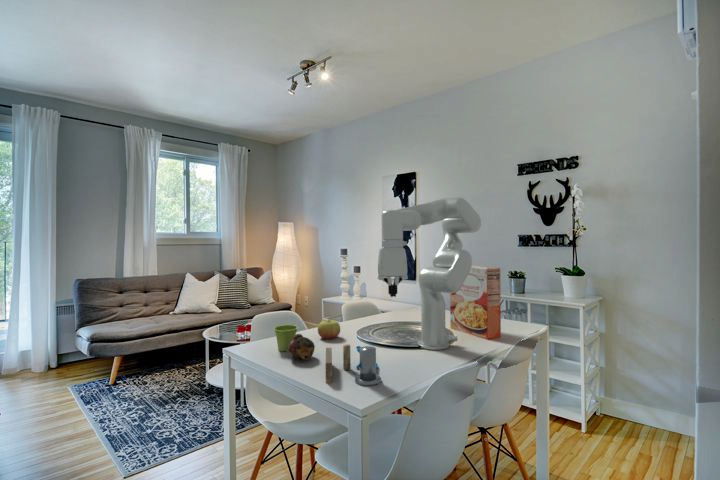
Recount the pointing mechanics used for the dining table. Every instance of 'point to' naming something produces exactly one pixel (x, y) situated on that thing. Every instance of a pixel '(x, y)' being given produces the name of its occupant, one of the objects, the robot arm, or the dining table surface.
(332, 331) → the apple
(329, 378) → the brown wooden plank
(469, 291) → the pasta box
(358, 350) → the gear
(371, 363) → the post
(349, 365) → the dowel pin
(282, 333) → the plant pot
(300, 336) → the decorative turtle
